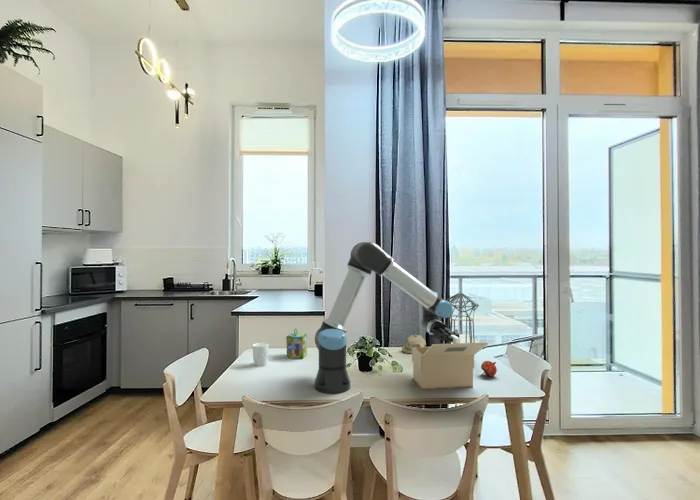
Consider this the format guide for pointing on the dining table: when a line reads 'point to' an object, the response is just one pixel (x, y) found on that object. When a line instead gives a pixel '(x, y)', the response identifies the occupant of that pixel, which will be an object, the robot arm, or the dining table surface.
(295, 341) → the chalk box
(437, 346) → the lid flap
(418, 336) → the ceramic model
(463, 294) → the geometric lantern
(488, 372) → the pomegranate
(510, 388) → the dining table surface
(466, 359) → the carton
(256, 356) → the white cup
